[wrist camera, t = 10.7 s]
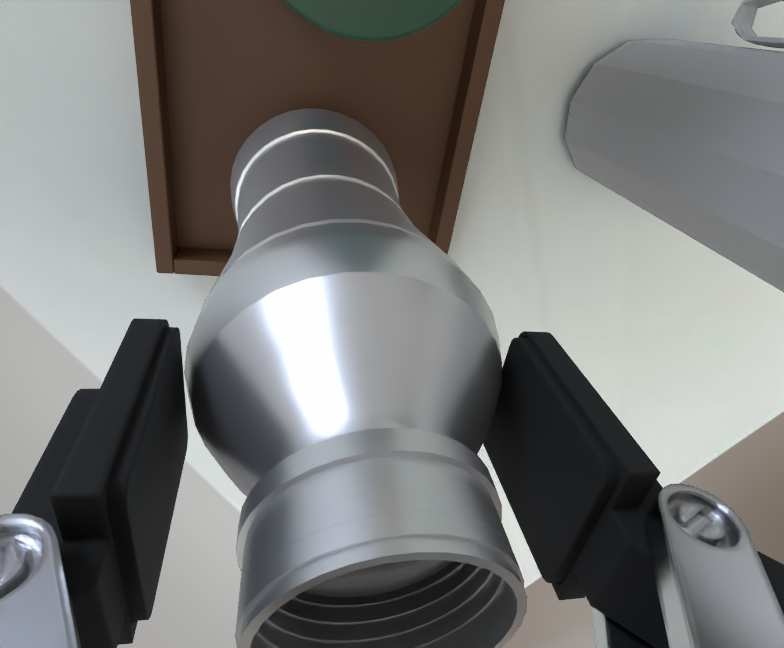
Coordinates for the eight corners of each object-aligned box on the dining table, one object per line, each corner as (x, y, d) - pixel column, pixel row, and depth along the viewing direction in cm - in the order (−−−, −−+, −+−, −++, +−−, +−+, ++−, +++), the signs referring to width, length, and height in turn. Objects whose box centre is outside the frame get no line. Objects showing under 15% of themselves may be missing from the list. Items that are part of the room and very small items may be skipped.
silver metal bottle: (221, 101, 21) (-34, 523, 4) (385, 92, 22) (713, 411, 5) (249, 247, 24) (170, 789, 8) (389, 234, 25) (589, 695, 9)
